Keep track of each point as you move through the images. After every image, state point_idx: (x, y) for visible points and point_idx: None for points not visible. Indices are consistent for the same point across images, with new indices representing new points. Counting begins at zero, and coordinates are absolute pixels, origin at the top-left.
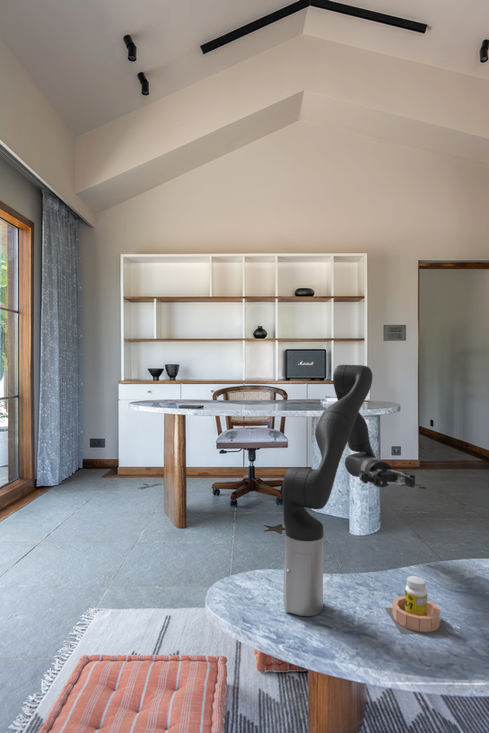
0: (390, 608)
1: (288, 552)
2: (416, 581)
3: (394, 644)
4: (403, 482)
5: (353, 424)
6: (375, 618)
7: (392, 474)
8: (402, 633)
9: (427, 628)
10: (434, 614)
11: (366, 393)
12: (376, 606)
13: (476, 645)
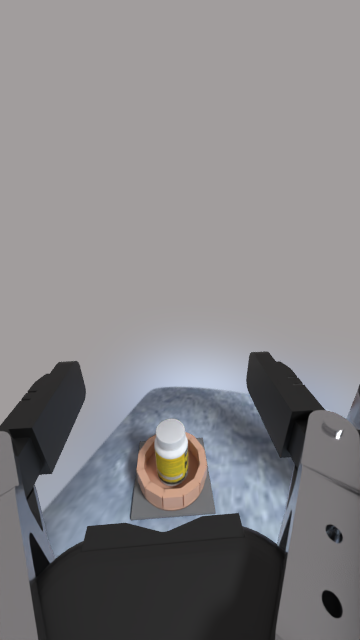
0: (204, 510)
1: None
2: (172, 424)
3: (213, 422)
4: (36, 502)
5: None
6: (232, 477)
7: (89, 553)
8: (200, 438)
9: None
10: (154, 439)
11: None
12: None
13: (123, 427)
